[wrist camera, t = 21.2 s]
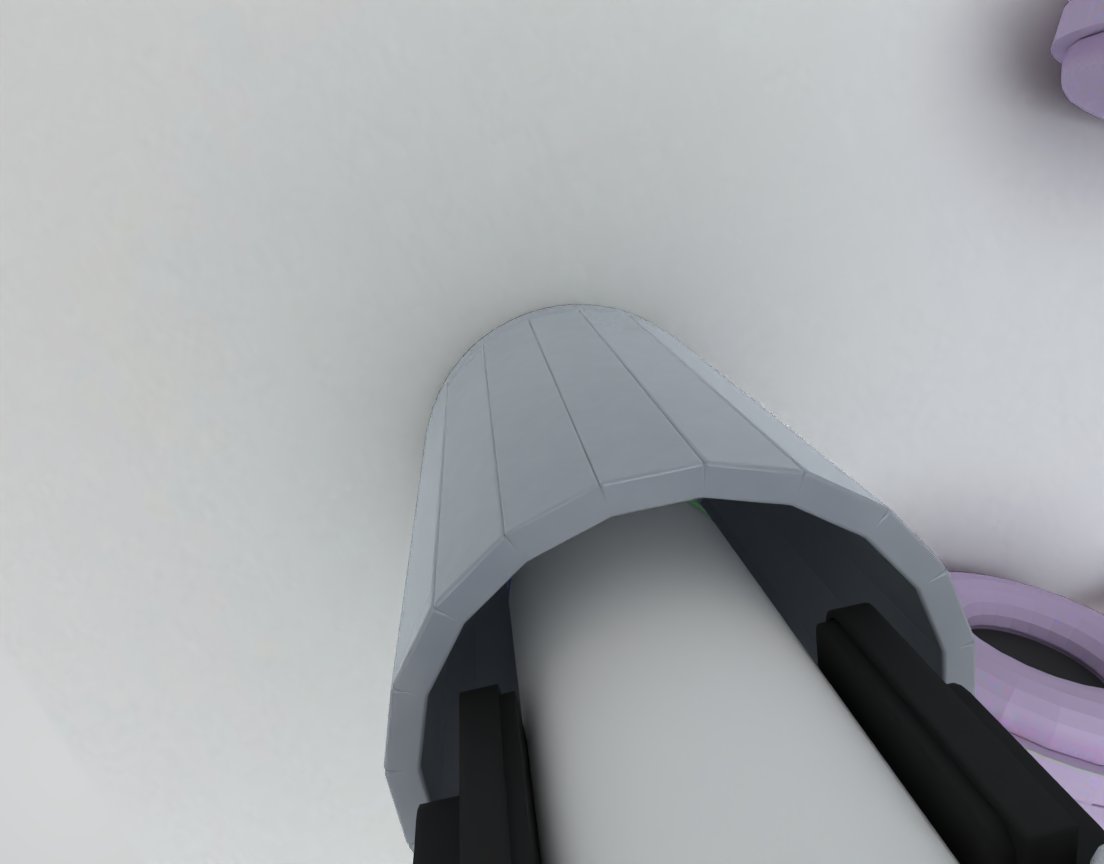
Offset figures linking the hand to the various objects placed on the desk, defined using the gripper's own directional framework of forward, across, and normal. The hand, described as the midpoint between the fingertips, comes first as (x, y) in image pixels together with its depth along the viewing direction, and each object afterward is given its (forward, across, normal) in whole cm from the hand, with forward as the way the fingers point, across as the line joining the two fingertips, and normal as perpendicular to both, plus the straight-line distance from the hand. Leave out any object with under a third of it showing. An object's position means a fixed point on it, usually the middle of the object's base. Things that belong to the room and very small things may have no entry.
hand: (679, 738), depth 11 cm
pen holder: (+12, 0, 0) cm, 12 cm away
